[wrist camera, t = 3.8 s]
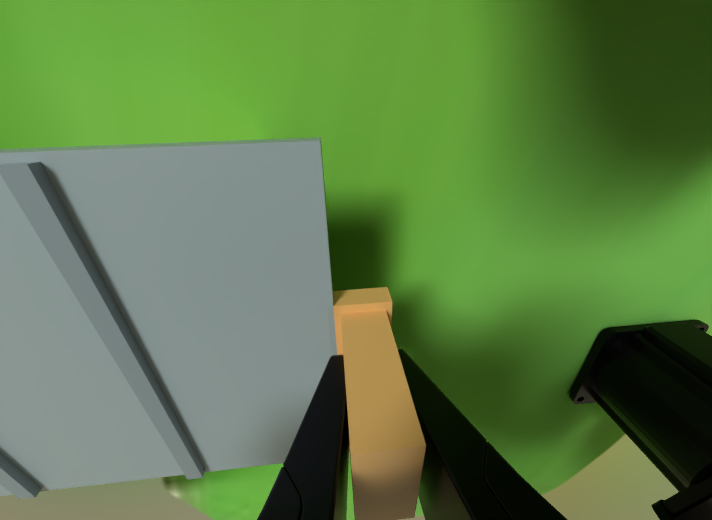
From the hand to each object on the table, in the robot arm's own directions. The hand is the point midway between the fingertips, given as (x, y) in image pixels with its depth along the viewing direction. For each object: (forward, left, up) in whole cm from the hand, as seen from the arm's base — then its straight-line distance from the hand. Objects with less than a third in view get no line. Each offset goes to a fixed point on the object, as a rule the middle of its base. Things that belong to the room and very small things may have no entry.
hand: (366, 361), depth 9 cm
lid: (0, +9, -1) cm, 10 cm away
